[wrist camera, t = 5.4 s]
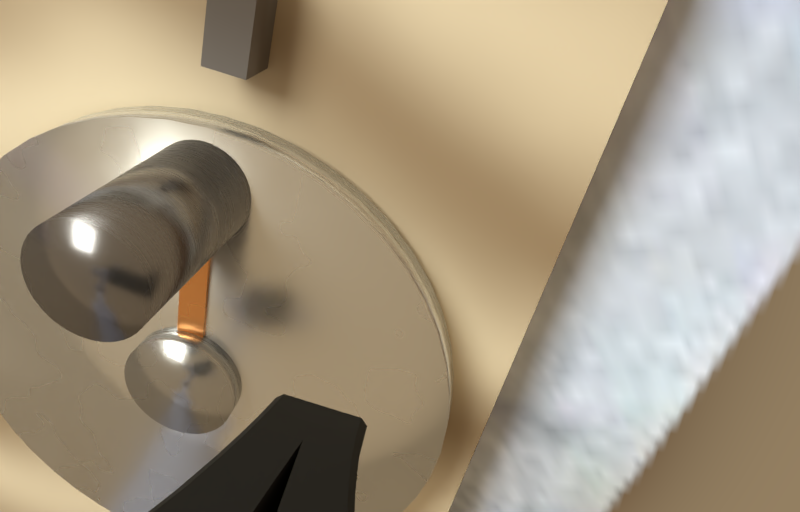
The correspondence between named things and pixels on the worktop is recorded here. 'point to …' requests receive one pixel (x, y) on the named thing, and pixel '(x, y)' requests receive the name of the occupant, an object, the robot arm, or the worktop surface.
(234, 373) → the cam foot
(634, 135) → the worktop surface
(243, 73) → the stand plate
